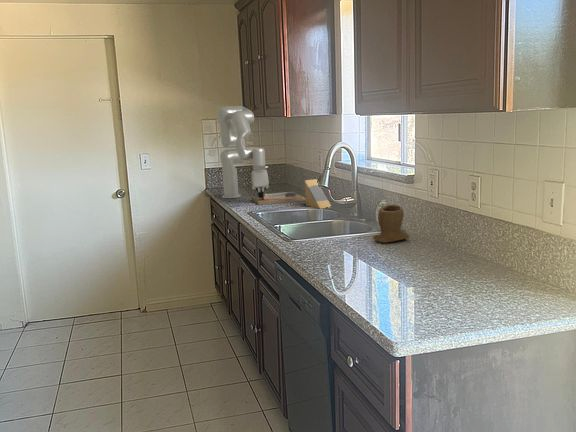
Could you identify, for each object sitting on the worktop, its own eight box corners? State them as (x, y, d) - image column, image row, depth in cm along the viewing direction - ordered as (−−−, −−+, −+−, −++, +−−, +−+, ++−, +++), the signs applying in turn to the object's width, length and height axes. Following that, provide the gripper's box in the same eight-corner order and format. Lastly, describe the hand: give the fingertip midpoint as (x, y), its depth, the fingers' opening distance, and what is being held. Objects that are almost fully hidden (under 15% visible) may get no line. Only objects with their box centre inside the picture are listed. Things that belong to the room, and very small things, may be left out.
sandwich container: (320, 209, 323) (319, 182, 321) (305, 205, 336) (304, 180, 334) (332, 207, 328) (331, 181, 325) (317, 204, 341) (316, 178, 338)
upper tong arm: (264, 197, 356) (264, 194, 356) (263, 196, 359) (263, 193, 359) (295, 194, 361) (295, 191, 361) (293, 193, 365) (293, 190, 364)
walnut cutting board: (251, 200, 366) (251, 197, 365) (296, 196, 373) (296, 193, 373) (258, 204, 348) (258, 201, 347) (305, 200, 355) (305, 197, 355)
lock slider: (264, 199, 353) (263, 196, 353) (263, 199, 356) (262, 195, 355) (268, 199, 354) (268, 196, 354) (267, 198, 356) (267, 195, 356)
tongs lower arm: (260, 199, 355) (260, 197, 355) (258, 198, 359) (258, 196, 358) (295, 196, 361) (295, 194, 361) (294, 195, 365) (293, 193, 365)
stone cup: (385, 246, 229) (384, 209, 226) (369, 240, 239) (368, 205, 237) (416, 241, 235) (416, 205, 232) (399, 236, 245) (399, 201, 243)
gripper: (269, 167, 356) (271, 196, 359) (246, 168, 352) (247, 198, 355) (272, 168, 349) (274, 197, 352) (248, 169, 345) (250, 199, 348)
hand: (261, 198), depth 354 cm, fingers closed
